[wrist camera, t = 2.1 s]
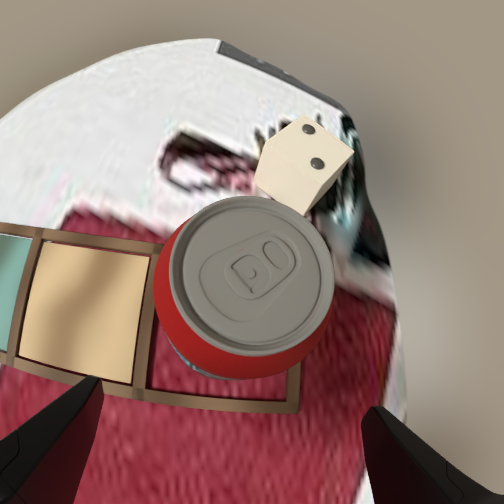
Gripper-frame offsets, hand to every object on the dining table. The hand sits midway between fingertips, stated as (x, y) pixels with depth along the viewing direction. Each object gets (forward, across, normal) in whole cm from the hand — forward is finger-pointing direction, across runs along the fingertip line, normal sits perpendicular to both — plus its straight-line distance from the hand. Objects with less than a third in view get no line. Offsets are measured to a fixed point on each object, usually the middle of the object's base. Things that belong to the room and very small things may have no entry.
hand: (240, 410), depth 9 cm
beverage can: (+11, 0, +5) cm, 12 cm away
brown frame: (+10, +10, +5) cm, 15 cm away
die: (+20, -4, -4) cm, 21 cm away
